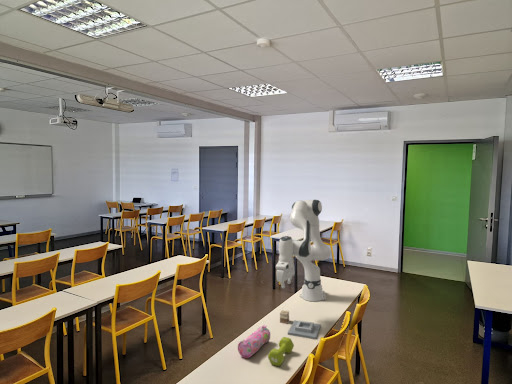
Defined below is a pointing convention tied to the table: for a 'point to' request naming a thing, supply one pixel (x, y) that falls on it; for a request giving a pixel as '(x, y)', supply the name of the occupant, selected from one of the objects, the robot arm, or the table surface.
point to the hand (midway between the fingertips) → (286, 285)
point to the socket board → (304, 329)
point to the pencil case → (254, 342)
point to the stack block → (284, 316)
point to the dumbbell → (280, 351)
